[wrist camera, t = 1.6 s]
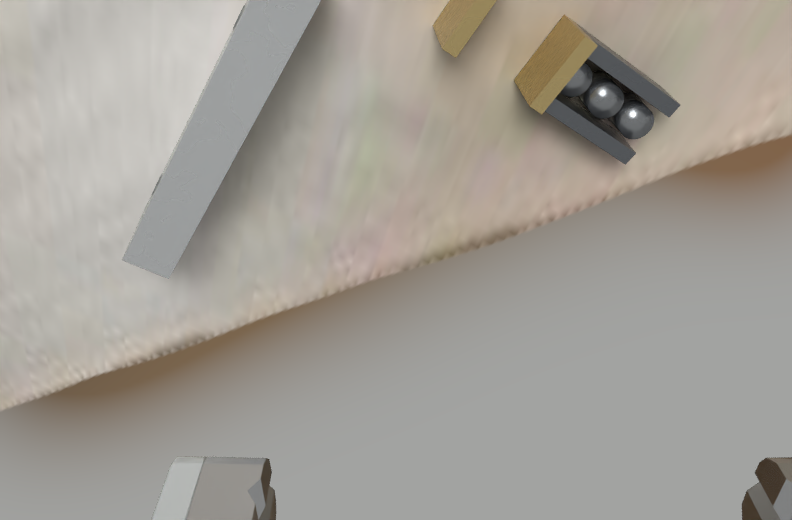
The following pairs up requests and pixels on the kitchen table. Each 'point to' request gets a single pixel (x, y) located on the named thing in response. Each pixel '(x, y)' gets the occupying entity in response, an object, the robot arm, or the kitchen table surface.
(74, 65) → the kitchen table surface
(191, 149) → the long grey beam
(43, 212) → the kitchen table surface
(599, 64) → the ball bearing track
